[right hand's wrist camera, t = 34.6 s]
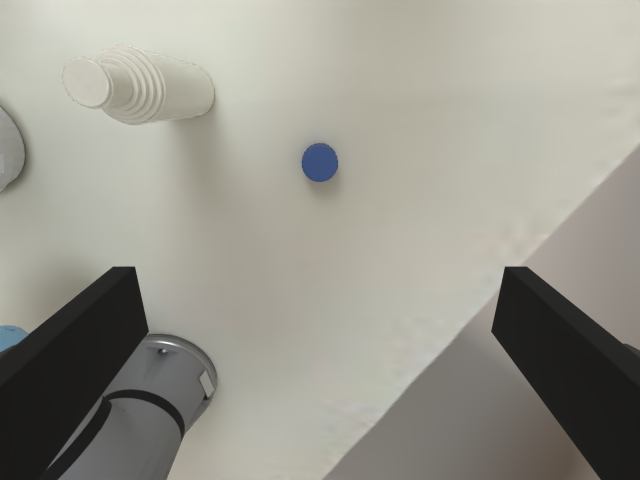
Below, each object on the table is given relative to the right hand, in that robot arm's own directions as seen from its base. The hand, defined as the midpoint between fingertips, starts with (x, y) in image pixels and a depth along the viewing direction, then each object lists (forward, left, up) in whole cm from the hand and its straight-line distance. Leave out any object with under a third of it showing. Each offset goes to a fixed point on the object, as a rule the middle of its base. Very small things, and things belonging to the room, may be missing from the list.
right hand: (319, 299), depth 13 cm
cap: (0, 0, -29) cm, 29 cm away
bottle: (-8, +14, -31) cm, 35 cm away
